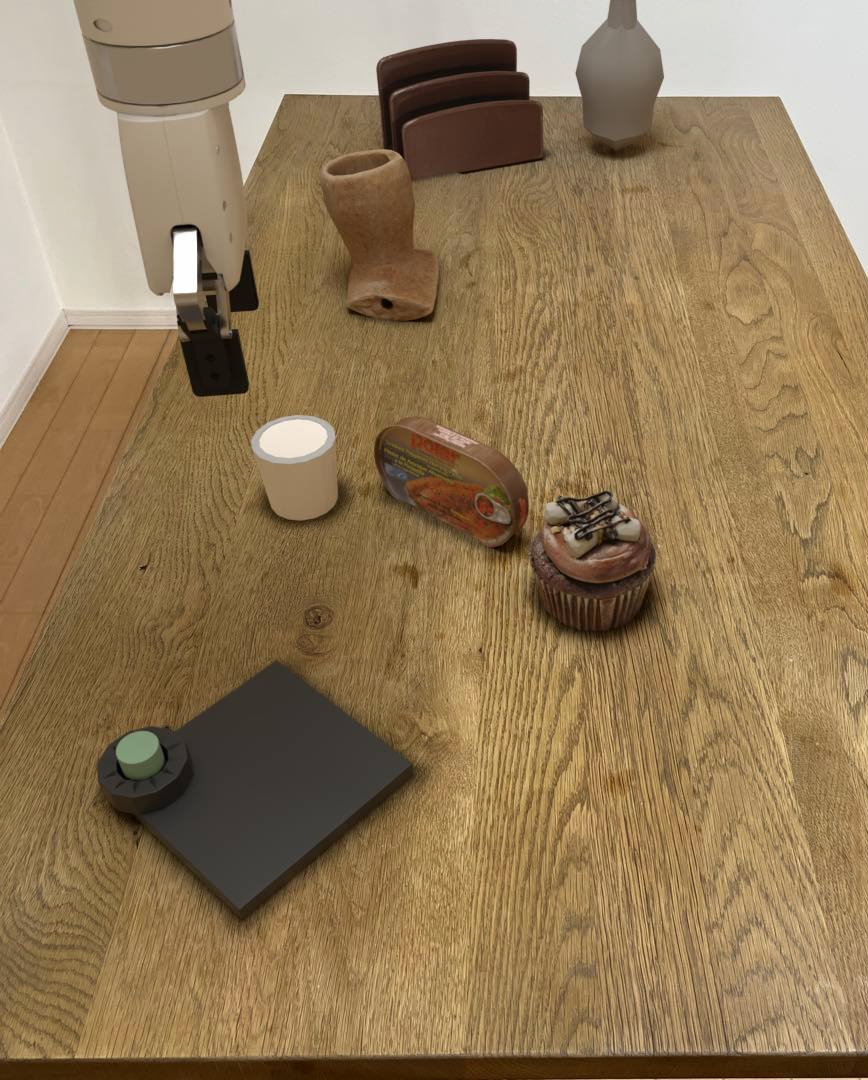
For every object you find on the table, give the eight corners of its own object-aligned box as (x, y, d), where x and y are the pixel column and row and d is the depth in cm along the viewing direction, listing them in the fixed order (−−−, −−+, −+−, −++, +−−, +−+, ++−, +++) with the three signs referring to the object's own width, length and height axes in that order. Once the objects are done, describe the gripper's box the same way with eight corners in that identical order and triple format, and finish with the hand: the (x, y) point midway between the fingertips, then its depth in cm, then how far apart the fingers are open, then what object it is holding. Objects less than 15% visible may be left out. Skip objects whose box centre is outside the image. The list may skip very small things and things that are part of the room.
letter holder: (383, 157, 152) (373, 50, 143) (516, 134, 158) (514, 30, 149) (406, 184, 145) (397, 73, 136) (544, 160, 152) (544, 52, 142)
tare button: (114, 765, 70) (107, 748, 69) (149, 741, 72) (143, 723, 71) (137, 788, 69) (131, 770, 68) (172, 762, 71) (166, 745, 69)
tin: (375, 494, 96) (366, 413, 91) (400, 476, 98) (392, 396, 93) (511, 564, 89) (510, 482, 84) (535, 544, 91) (535, 462, 86)
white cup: (322, 536, 92) (311, 469, 87) (249, 519, 94) (234, 453, 89) (358, 488, 97) (349, 422, 92) (288, 472, 99) (276, 407, 94)
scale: (94, 797, 72) (79, 763, 70) (273, 670, 81) (265, 637, 78) (233, 934, 65) (222, 902, 63) (414, 779, 73) (410, 746, 71)
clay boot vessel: (342, 261, 129) (326, 133, 119) (444, 262, 129) (436, 134, 119) (322, 328, 118) (302, 192, 108) (434, 328, 118) (424, 193, 108)
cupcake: (678, 613, 85) (689, 512, 79) (573, 662, 81) (576, 561, 75) (607, 543, 91) (612, 445, 85) (506, 586, 87) (503, 486, 81)
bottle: (638, 172, 148) (654, -78, 129) (562, 158, 152) (566, -88, 132) (668, 143, 156) (687, -98, 136) (594, 130, 160) (602, -106, 140)
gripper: (118, 15, 63) (182, 286, 75) (59, 128, 50) (148, 435, 62) (251, 10, 64) (295, 279, 75) (227, 119, 51) (284, 424, 62)
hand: (228, 349), depth 69 cm, fingers open, 9 cm apart
